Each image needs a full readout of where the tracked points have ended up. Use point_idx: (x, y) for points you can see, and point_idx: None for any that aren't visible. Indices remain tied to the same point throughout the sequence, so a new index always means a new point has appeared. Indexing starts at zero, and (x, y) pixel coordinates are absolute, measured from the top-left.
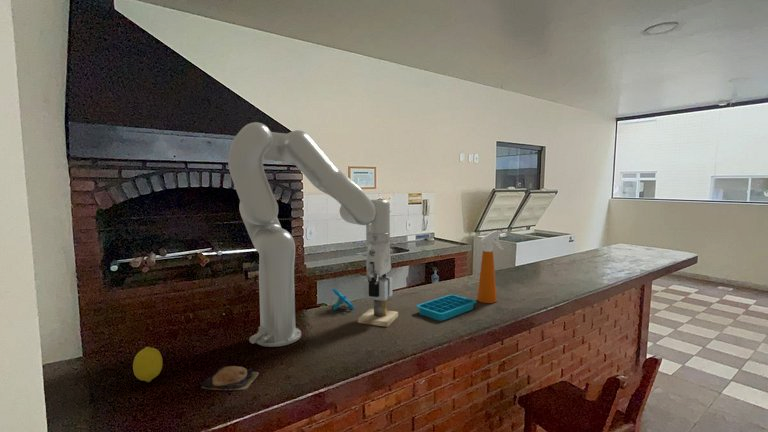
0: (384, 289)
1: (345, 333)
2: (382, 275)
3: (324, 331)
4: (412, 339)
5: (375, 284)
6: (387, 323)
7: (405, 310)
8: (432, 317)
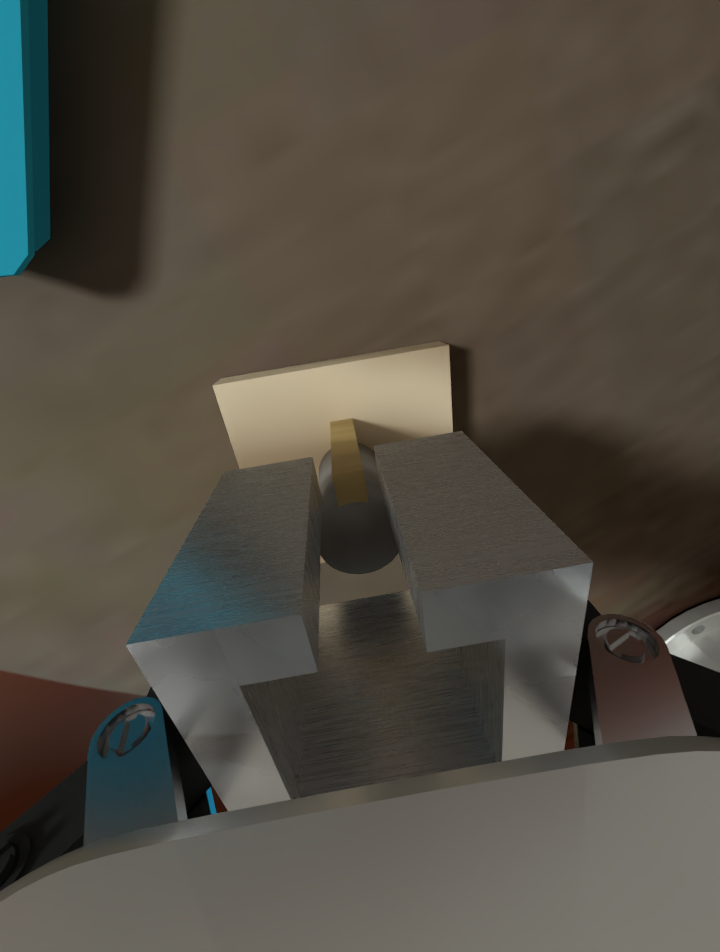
0: (520, 490)
1: (605, 492)
2: (182, 783)
3: (604, 577)
4: (603, 6)
5: (630, 627)
6: (445, 344)
7: (75, 393)
8: (42, 40)
